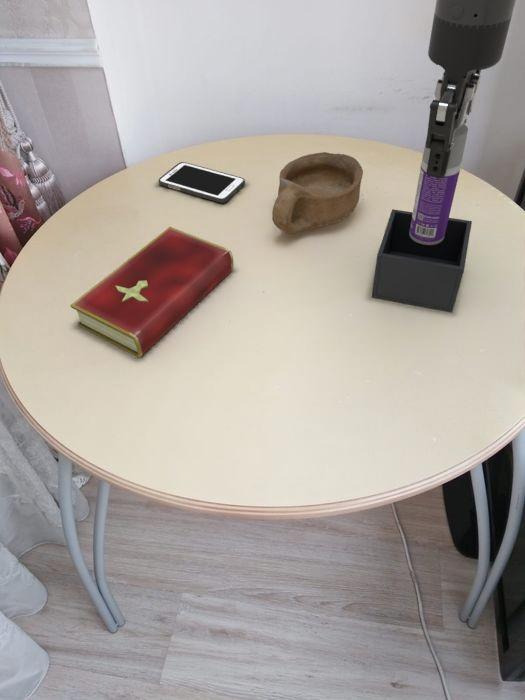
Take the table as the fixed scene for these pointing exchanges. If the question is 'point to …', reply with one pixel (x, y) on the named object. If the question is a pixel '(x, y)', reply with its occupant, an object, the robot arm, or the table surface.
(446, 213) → the container
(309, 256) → the table surface
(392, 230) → the bin
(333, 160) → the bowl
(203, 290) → the hardcover book
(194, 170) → the cell phone
